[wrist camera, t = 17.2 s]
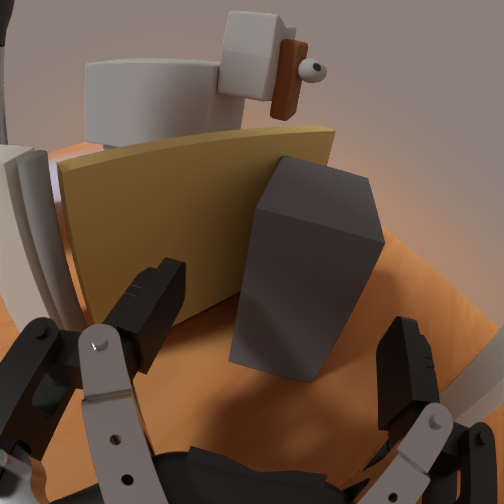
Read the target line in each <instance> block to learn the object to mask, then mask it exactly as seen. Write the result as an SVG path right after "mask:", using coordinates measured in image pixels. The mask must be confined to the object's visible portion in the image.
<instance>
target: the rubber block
mask: <svg viewBox="0 0 504 504" xmlns="http://www.w3.org/2000/svg"><path fill="white" fill-rule="evenodd" d="M384 244H385V241H384V237H383V233H382V228H381V224H380V220H379V217H378V213H377V209H376V205H375V202H374V198H373V194H372V191H371V187H370V184H369V181H368V178H365V177H362V176H359V175H355V174H352V173H349V172H345V171H342V170H338V169H334V168H331V167H327V166H324V165H320V164H316V163H312V162H309V161H305V160H301V159H297V158H293V157H289V156H284V155H283V157H282V159H281V161H280V162H279V164H278V166H277V168H276V170H275V172H274V174H273V176H272V178H271V179H270V181H269V183H268V185H267V187H266V189H265V191H264V193H263V195H262V197H261V199H260V201H259V202H258V204H257V206H256V209H255V214H254V220H253V226H252V231H251V237H250V242H249V248H248V254H247V259H246V265H245V271H244V276H243V282H242V288H241V293H240V299H239V305H238V310H237V316H236V322H235V327H234V333H233V339H232V345H231V350H230V356H229V362H232V363H235V364H239V365H242V366H246V367H249V368H253V369H257V370H260V371H264V372H268V373H272V374H275V375H279V376H283V377H287V378H292V379H296V380H300V381H304V382H309V383H312V381H313V380H314V378H315V376H316V375H317V373H318V371H319V370H320V368H321V366H322V365H323V363H324V361H325V360H326V358H327V356H328V354H329V353H330V351H331V349H332V347H333V346H334V344H335V342H336V340H337V339H338V337H339V335H340V333H341V331H342V330H343V328H344V326H345V324H346V322H347V320H348V318H349V317H350V315H351V313H352V311H353V309H354V307H355V305H356V303H357V301H358V299H359V297H360V295H361V293H362V291H363V289H364V287H365V285H366V283H367V281H368V279H369V277H370V275H371V273H372V271H373V269H374V266H375V264H376V262H377V260H378V258H379V256H380V253H381V251H382V249H383V247H384Z"/></svg>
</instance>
